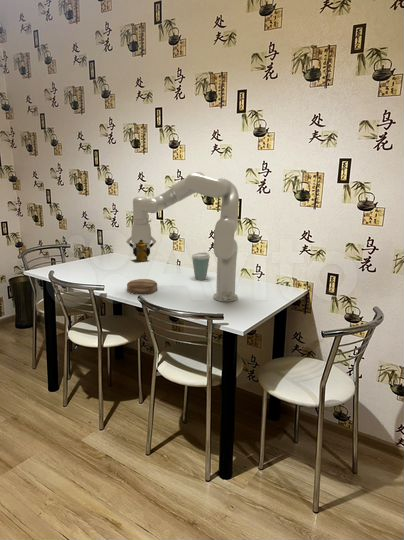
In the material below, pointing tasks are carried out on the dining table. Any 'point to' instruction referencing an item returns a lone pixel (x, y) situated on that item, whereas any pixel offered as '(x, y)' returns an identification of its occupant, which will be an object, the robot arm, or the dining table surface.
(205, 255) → the disposable coffee cup
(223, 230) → the robot arm
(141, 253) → the condiment
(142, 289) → the walnut stand
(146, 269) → the dining table surface
